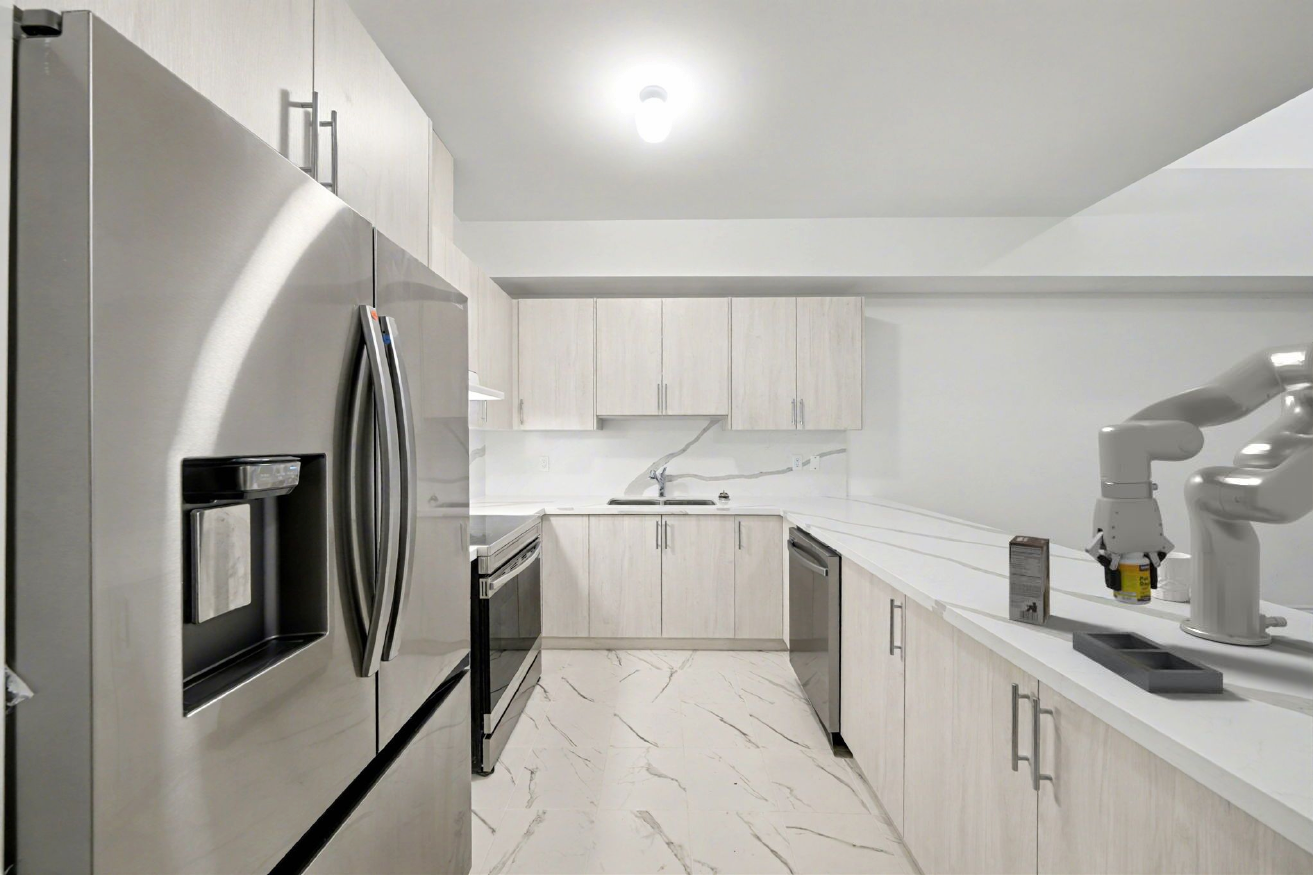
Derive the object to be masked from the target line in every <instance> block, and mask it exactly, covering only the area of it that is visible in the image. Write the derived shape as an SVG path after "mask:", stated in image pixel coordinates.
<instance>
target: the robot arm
mask: <svg viewBox="0 0 1313 875" xmlns="http://www.w3.org/2000/svg"><path fill="white" fill-rule="evenodd" d="M1279 396H1280V405H1281V406H1280V407H1281V408H1280V415H1279V417H1277V419H1275V421H1273V422H1272V423H1271V424H1270V425H1268V426H1267V427H1266V428H1264V429H1263V430H1261V431H1260V432H1259V433H1257V434H1256V435H1255V436H1253V437H1252V438H1250V439H1249V440H1248V441H1247V442H1245V443H1244V444H1243V445H1242V446H1241V447H1239V448H1238V450H1237V452H1236V453H1235V454H1234V455H1233V456H1234V457H1233V459H1232V466H1227V465H1223V466H1222V465H1214V466H1206V467H1202V468H1199V469H1197V470H1194V471H1193V472H1191V474H1189V476H1188V477H1187V478H1186V480H1185V482H1184V484H1183V496H1184V497H1183V498H1184V501H1185V505H1186V509H1187V513H1188V518H1189V529H1190V555H1191V574H1190V596H1189V601H1190V607H1189V608H1190V609H1189V610H1190V611H1189V612H1190V613H1189V618H1184V619H1180V621H1179V628H1180V629H1181V630H1182V631H1184V632H1186V633H1187V634H1189V635H1192V636H1196V637H1199V638H1201V639H1206V640H1210V641H1215V642H1220V643H1226V644H1231V645H1241V646H1264V645H1265V646H1266V645H1269V644H1271V643H1272V635H1271V634H1270V633H1268V632H1267V631H1266V629H1269V628H1270V627H1272V628H1286V627H1287V626H1288V621H1287V619H1286V617H1283V616H1278V615H1277V616H1267V615H1266V614H1264V613H1261V612H1260V611H1261V610H1260V608H1261V607H1260V606H1261V604H1260V603H1261V602H1260V596H1261V595H1260V592H1261V590H1260V589H1261V588H1260V587H1261V586H1260V584H1261V578H1260V577H1261V573H1260V572H1261V568H1260V567H1261V544H1260V539H1259V536H1258V534H1257V532H1256V530H1255V529H1254V526H1253V525H1252V524H1251V522H1253V523H1259V524H1261V523H1262V524H1269V525H1287V524H1288V525H1289V524H1292V523H1295V522H1296V521H1299V520H1300V519H1302V518H1304V517H1305V516H1307V515H1308V514H1310V513H1311V512H1312V511H1313V341H1312V342H1304V343H1295V344H1288V345H1287V344H1286V345H1278V346H1269V347H1265V348H1263V349H1259V350H1257V351H1255V352H1252V353H1251V354H1249V355H1248V356H1246V357H1244V358H1243V359H1242V360H1240V361H1238V362H1236V363H1235V364H1233V365H1232V366H1231V367H1229V368H1227V369H1226V370H1224V371H1222V372H1221V373H1219V374H1218V375H1216V376H1214V377H1213V378H1211V379H1210V380H1208V381H1207V382H1205V383H1203V384H1200V385H1197V386H1196V387H1192V388H1189V389H1186V390H1184V391H1182V392H1179V393H1177V394H1174V395H1172V396H1169V397H1166V398H1164V399H1160V400H1158V401H1156V402H1154V403H1151V404H1149V405H1147V406H1146V407H1144V408H1141V409H1140V410H1138V411H1137V412H1135V413H1133V414H1132V415H1130V416H1129V417H1127V418H1126V419H1124V420H1123V421H1122V422H1121V423H1120V424H1119V423H1117V424H1107V425H1103V426H1102V427H1101V428H1099V429H1098V433H1097V434H1098V438H1097V439H1098V454H1099V456H1098V457H1099V459H1098V460H1099V474H1100V475H1099V476H1100V495H1101V497H1100V498H1096V499H1095V500H1096V501H1095V505H1094V509H1093V510H1094V511H1093V520H1092V540H1091V541H1090V542H1089V543H1088V544H1087V546H1086V547H1085V548H1084V551H1085V553H1087V554H1088V555H1090V556H1091V557H1092V558H1093V559H1094V560H1095V561H1097V563H1099V564H1100V566H1101V567H1103V569H1104V570H1103V572H1104V582H1105V586H1106V588H1107V589H1109V590H1112V591H1113V590H1115V591H1121V590H1122V588H1121V571H1120V570H1118V569H1117V566H1118V563H1119V559H1120V556H1121V554H1129V553H1134V552H1142V553H1144V555H1143V557H1146V558H1148V560H1149V565H1150V587H1151V589H1157V588H1158V587H1157V583H1158V574H1157V568H1158V567H1160V566H1161V562H1162V561H1163V560H1164V559H1165V558H1166V556H1167V554H1169V553H1170V552H1173V550H1174V549H1175V544H1174V543H1173V542H1172V541H1171V540H1170V539H1169V538H1167V537H1166V536H1165V534H1164V524H1163V520H1162V519H1163V518H1162V514H1161V510H1160V507H1159V504H1158V501H1157V498H1155V497H1154V496H1153V495H1154V491H1157V490H1158V489H1159V485H1158V484H1157V483H1156V482H1153V479H1152V477H1153V476H1152V462H1153V461H1159V462H1183V461H1188V460H1190V459H1193V458H1194V457H1195V456H1198V454H1199V453H1200V452H1201V451H1202V450H1203V448H1204V447H1205V446H1204V445H1205V435H1204V433H1203V432H1202V430H1201V429H1202V428H1210V427H1216V426H1221V425H1224V424H1228V423H1232V422H1237V421H1240V420H1241V419H1243V418H1245V417H1247V416H1248V415H1251V414H1252V413H1253V412H1255V411H1257V410H1258V409H1259V408H1261V407H1262V406H1264V405H1265V404H1268V403H1269V402H1270V401H1272V400H1274V399H1275V398H1277V397H1279ZM1100 551H1103V553H1101V552H1100Z"/></svg>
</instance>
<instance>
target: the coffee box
mask: <svg viewBox="0 0 1313 875" xmlns="http://www.w3.org/2000/svg"><path fill="white" fill-rule="evenodd" d="M1050 554H1051V553H1050V538H1042V537H1037V536H1027V535H1015V536H1013V538H1011V540H1010V541H1009V542H1008V582H1009V583H1008V614H1009V615H1008V619H1009V620H1010V621H1016V622H1022V623H1028V624H1034V625H1041V626H1044V625H1045V624H1046V622H1047V620H1048V618H1049V616H1050V614H1051V602H1050V601H1051V595H1050V594H1051V586H1050V585H1051V583H1050V582H1051V578H1050V576H1051V573H1050V572H1051V570H1050V569H1051V568H1050V562H1051V561H1050Z"/></svg>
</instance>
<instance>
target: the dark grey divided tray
mask: <svg viewBox="0 0 1313 875" xmlns="http://www.w3.org/2000/svg"><path fill="white" fill-rule="evenodd" d="M1072 649H1073V650H1075V651H1077V652H1078V653H1080V654H1081V655H1084V656H1085V657H1087V658H1088V659H1090V660H1092V661H1094V662H1096V663H1097V664H1098V665H1101V666H1102V667H1104V668H1106V669H1107V670H1109V671H1111V672H1113V673H1115V674H1116V675H1118V676H1120V677H1121V678H1123V679H1124V680H1126V681H1128V682H1130V683H1132V684H1134V685H1135V686H1137V687H1139V688H1141V689H1142V690H1144V691H1146V692H1148V693H1163V694H1166V693H1174V694H1175V693H1176V694H1177V693H1178V694H1181V693H1182V694H1223V693H1224V673H1223V672H1221V671H1219V670H1217V669H1216V668H1213V667H1211V666H1208V665H1206V664H1204V663H1202V662H1200V661H1198V660H1195V659H1193V658H1191V657H1189V656H1188V655H1185V654H1183V653H1180V652H1178V651H1177V650H1174V649H1171V648H1169V647H1167V646H1165V645H1164V644H1160V643H1159V642H1157V641H1155V640H1153V639H1150V638H1149V637H1146V636H1144V635H1141V634H1139V633H1138V632H1135V631H1072ZM1164 692H1165V693H1164Z"/></svg>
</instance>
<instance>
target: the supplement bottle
mask: <svg viewBox="0 0 1313 875" xmlns="http://www.w3.org/2000/svg"><path fill="white" fill-rule="evenodd" d="M1143 555H1144V553H1142V552H1134V553H1129V554H1121V556H1120V559H1119V563H1118V566H1117V569H1118V570H1120V571H1121V588H1122V590H1121V591H1115V590H1112V593H1113V594H1112V596H1113V599H1114V600H1115V601H1117V602H1119V603H1122V604H1127V605H1134V606H1141V605H1142V606H1143V605H1148V604H1150V603H1151V601H1152V596H1151V587H1150V565H1149V560H1148V558H1146V557H1143Z"/></svg>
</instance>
